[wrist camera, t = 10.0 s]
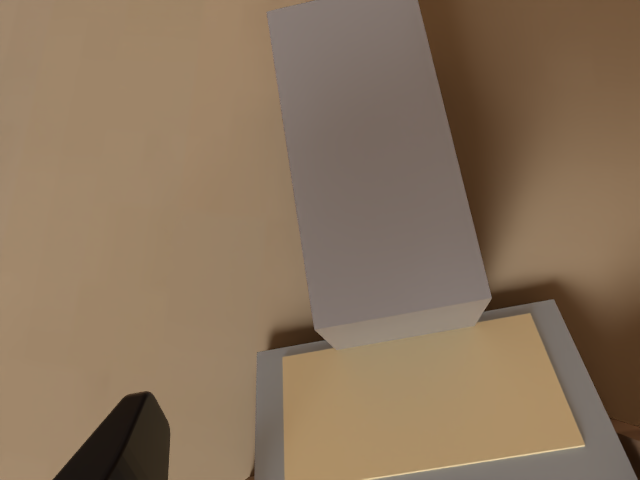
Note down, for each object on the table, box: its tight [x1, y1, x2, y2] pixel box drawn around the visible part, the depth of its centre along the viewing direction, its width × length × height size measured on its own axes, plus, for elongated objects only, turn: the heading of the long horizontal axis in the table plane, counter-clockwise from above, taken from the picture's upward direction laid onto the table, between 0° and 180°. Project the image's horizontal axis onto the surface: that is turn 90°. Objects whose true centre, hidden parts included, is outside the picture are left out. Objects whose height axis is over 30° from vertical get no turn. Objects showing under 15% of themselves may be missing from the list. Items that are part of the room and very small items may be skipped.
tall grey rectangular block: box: [267, 0, 492, 350], centre depth 21 cm, size 5×5×11 cm
